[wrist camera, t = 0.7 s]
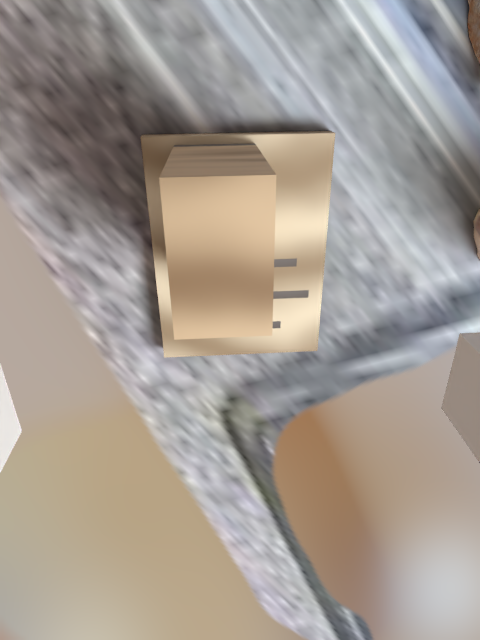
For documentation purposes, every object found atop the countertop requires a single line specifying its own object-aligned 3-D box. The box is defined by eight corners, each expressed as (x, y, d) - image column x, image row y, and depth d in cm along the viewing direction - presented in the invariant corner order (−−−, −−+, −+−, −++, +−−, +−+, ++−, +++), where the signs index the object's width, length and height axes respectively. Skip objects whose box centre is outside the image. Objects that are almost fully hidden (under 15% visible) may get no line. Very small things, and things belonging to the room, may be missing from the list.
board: (142, 134, 29) (140, 137, 28) (330, 130, 29) (335, 133, 28) (165, 349, 36) (164, 357, 35) (314, 342, 37) (317, 350, 36)
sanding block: (174, 144, 28) (159, 177, 19) (255, 143, 28) (276, 174, 20) (183, 266, 32) (174, 339, 23) (254, 263, 32) (272, 335, 23)
